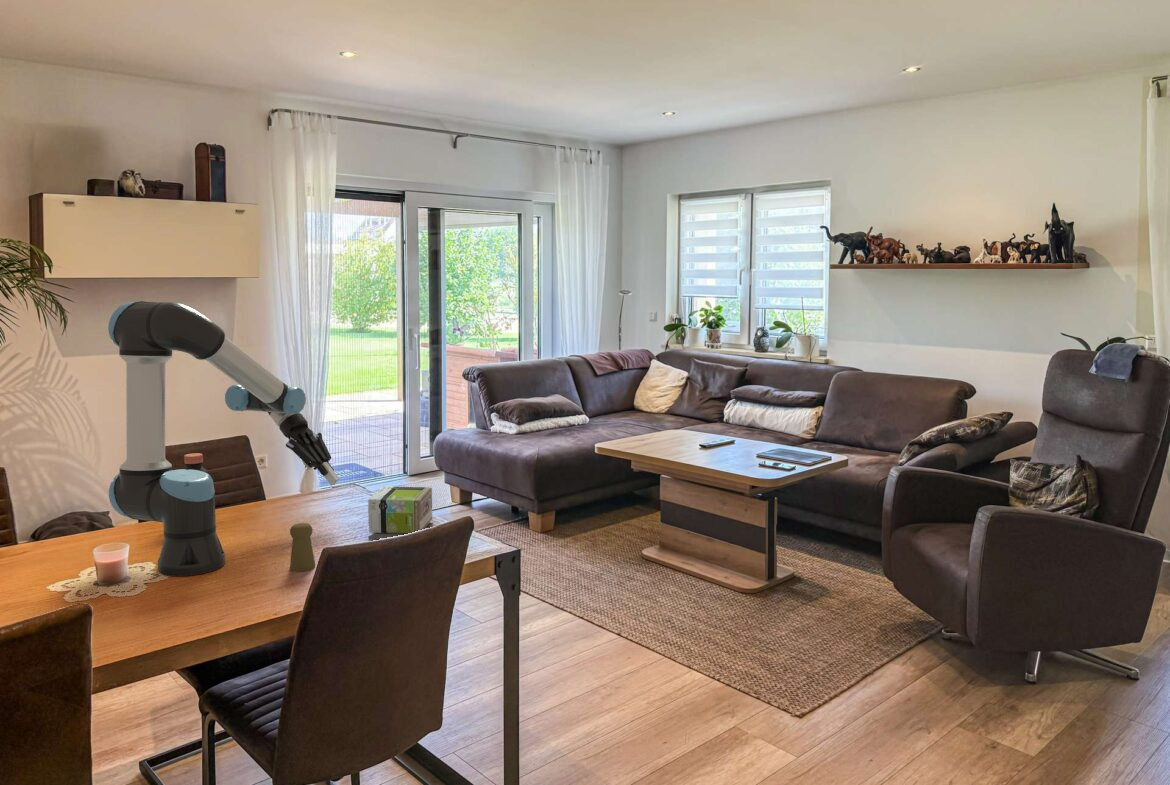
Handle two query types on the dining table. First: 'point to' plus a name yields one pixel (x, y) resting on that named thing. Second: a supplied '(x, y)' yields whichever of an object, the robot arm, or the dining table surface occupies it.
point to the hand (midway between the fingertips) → (335, 482)
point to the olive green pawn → (301, 548)
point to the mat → (385, 535)
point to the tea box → (400, 509)
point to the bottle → (194, 462)
